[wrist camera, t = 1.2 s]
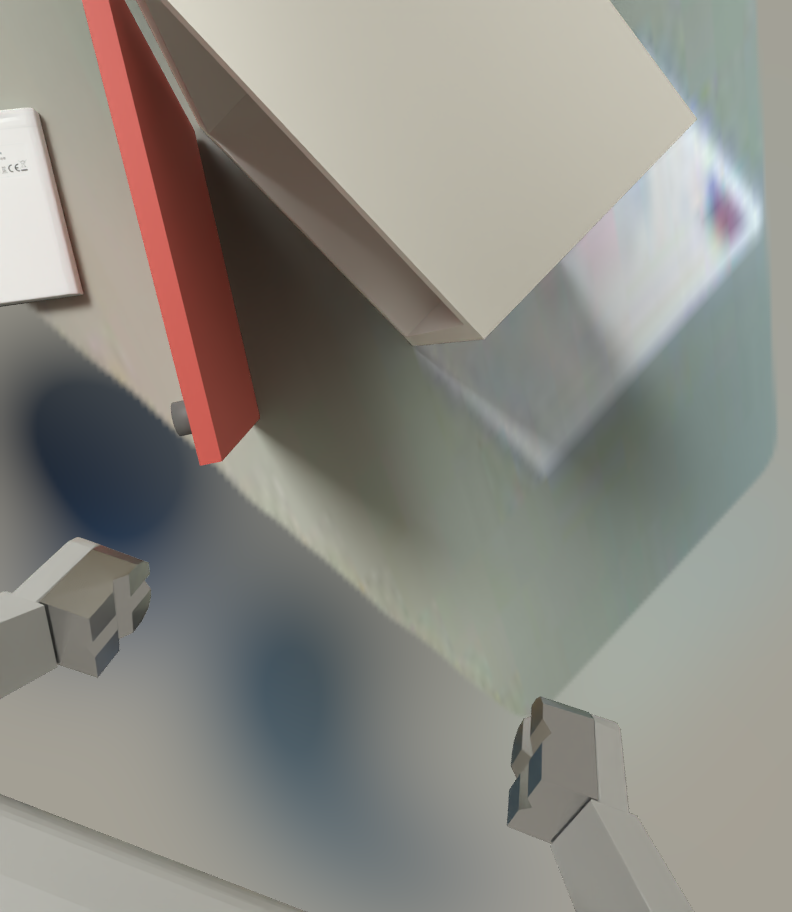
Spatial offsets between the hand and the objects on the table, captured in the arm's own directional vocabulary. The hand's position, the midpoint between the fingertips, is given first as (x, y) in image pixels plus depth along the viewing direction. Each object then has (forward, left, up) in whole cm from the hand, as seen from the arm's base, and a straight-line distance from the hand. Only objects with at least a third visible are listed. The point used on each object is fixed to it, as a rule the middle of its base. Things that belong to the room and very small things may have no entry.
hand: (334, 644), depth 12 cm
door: (-13, +5, -35) cm, 38 cm away
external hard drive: (-27, 0, -37) cm, 45 cm away
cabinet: (-7, +18, -36) cm, 41 cm away
